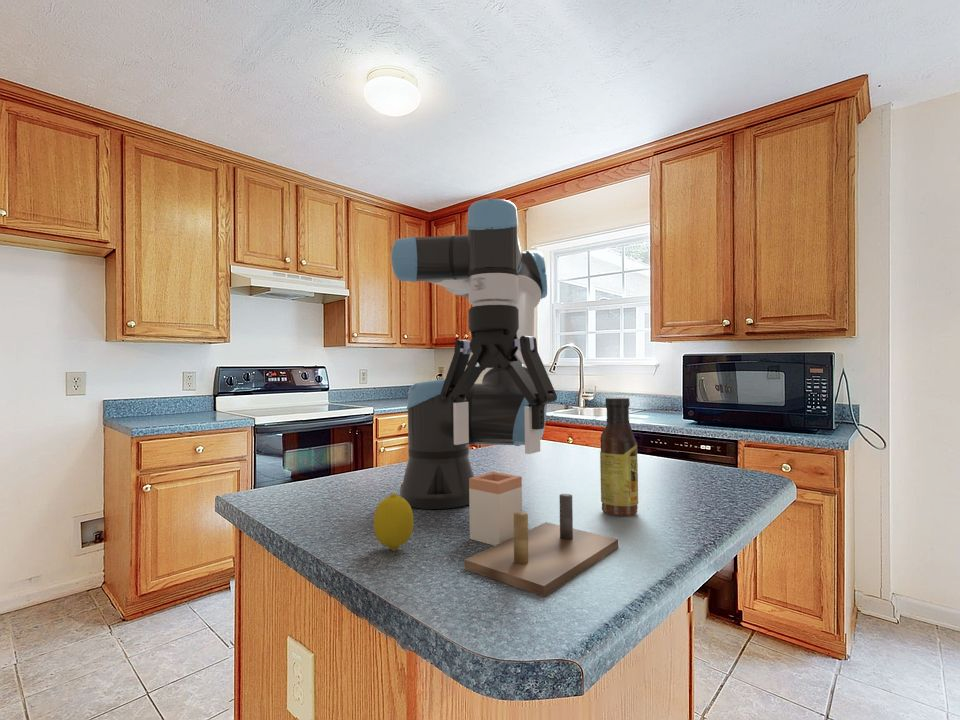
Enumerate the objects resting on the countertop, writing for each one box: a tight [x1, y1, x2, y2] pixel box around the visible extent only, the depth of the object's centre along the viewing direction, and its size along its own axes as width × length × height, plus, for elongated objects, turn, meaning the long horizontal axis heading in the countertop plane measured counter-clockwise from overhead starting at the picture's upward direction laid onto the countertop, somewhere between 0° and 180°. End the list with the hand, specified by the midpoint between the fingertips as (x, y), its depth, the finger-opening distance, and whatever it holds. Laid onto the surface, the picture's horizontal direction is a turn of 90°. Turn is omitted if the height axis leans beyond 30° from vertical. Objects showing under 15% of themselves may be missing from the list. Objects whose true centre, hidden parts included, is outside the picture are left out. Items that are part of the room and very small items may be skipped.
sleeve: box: [468, 471, 523, 547], centre depth 75 cm, size 6×6×9 cm
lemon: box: [373, 493, 415, 552], centre depth 71 cm, size 6×6×8 cm
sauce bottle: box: [599, 397, 639, 517], centre depth 87 cm, size 7×6×20 cm
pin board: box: [464, 493, 619, 597], centre depth 67 cm, size 12×19×7 cm, turn 140°
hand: (494, 448), depth 75 cm, fingers open, 13 cm apart
